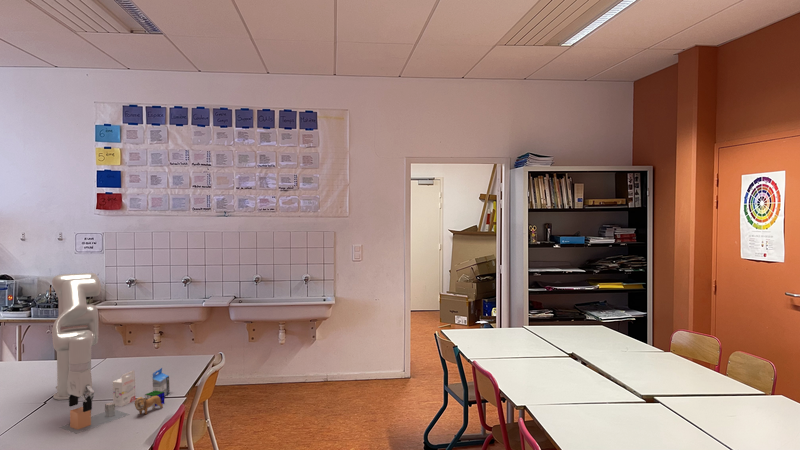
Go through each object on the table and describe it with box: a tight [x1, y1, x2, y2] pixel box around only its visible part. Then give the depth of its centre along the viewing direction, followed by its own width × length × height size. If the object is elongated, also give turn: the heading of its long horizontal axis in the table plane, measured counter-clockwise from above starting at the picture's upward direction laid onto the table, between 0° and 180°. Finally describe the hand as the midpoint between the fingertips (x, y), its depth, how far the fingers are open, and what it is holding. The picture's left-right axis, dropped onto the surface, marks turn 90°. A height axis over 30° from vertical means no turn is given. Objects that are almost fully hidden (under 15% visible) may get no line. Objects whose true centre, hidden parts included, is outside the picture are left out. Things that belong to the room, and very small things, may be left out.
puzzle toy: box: [144, 390, 165, 408], centre depth 228 cm, size 6×6×6 cm
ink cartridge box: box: [112, 369, 136, 407], centre depth 229 cm, size 9×5×15 cm, turn 168°
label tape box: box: [152, 367, 171, 397], centre depth 240 cm, size 9×4×12 cm, turn 179°
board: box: [58, 409, 131, 434], centre depth 209 cm, size 12×22×1 cm, turn 151°
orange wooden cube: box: [69, 406, 92, 430], centre depth 204 cm, size 5×5×7 cm
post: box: [104, 401, 116, 417], centre depth 214 cm, size 3×3×5 cm
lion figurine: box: [134, 396, 164, 415], centre depth 219 cm, size 15×5×9 cm, turn 165°
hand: (80, 408), depth 204 cm, fingers open, 9 cm apart
